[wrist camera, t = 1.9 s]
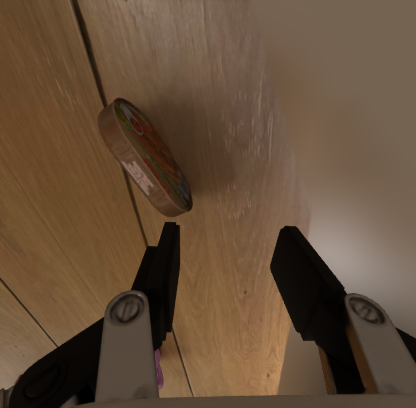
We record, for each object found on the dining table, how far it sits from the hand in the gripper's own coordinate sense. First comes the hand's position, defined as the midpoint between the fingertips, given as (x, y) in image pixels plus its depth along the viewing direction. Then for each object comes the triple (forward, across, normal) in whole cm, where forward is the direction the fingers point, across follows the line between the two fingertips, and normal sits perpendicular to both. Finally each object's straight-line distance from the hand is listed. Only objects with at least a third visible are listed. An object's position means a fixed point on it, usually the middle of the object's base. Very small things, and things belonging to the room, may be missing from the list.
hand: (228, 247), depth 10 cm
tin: (+20, +8, 0) cm, 21 cm away
